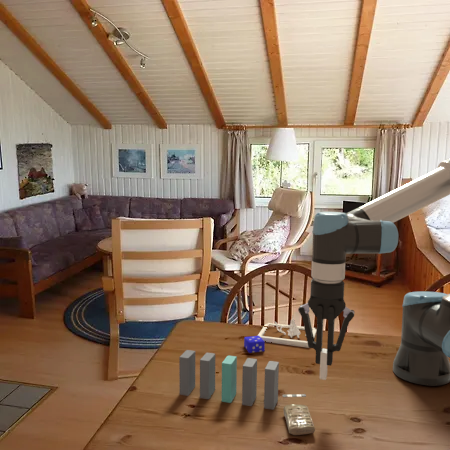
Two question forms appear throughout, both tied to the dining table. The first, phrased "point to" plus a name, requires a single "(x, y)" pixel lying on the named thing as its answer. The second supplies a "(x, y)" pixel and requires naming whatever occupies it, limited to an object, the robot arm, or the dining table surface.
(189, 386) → the domino
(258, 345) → the die
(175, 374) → the dining table surface
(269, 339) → the white flat rectangular frame
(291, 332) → the shell
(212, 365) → the domino
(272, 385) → the domino
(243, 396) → the domino
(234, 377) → the domino
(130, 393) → the dining table surface
